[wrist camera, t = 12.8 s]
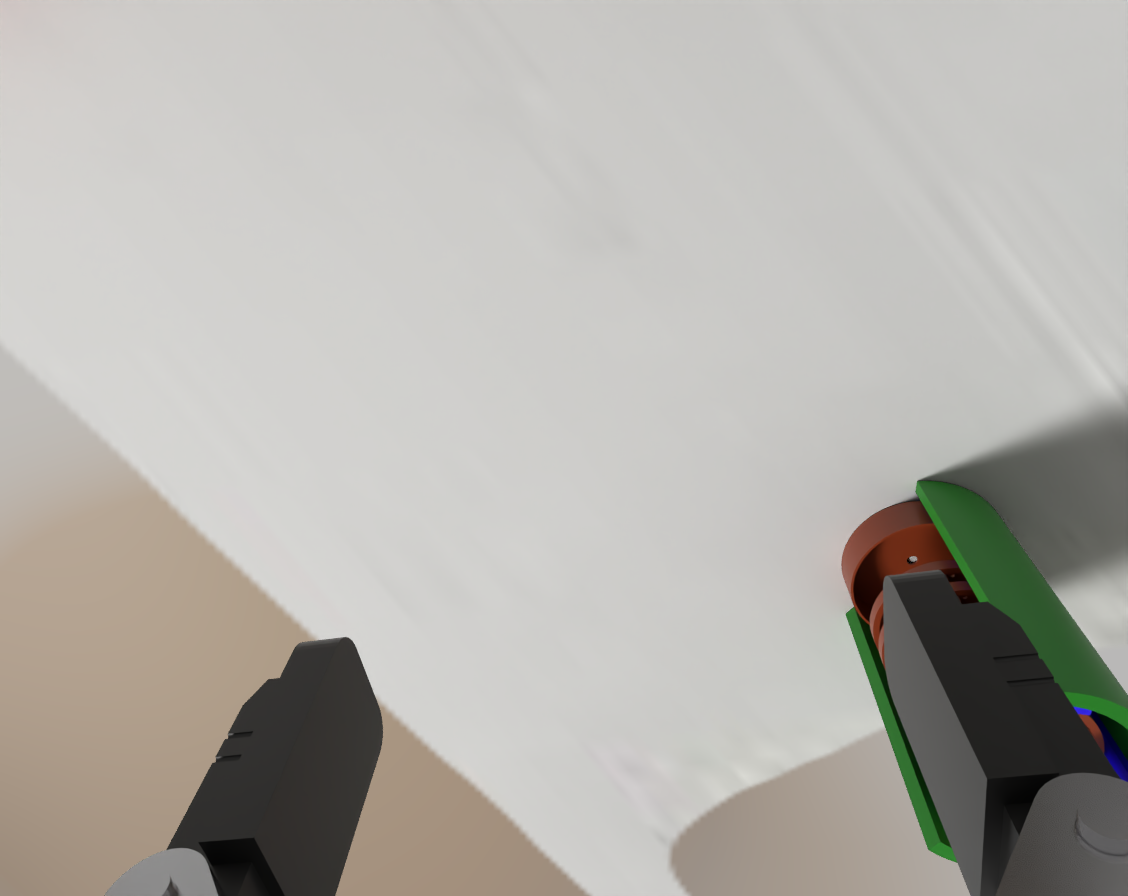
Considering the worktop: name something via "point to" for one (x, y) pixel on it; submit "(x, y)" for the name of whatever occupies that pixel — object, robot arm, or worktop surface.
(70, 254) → the worktop surface
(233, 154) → the worktop surface
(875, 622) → the motor
